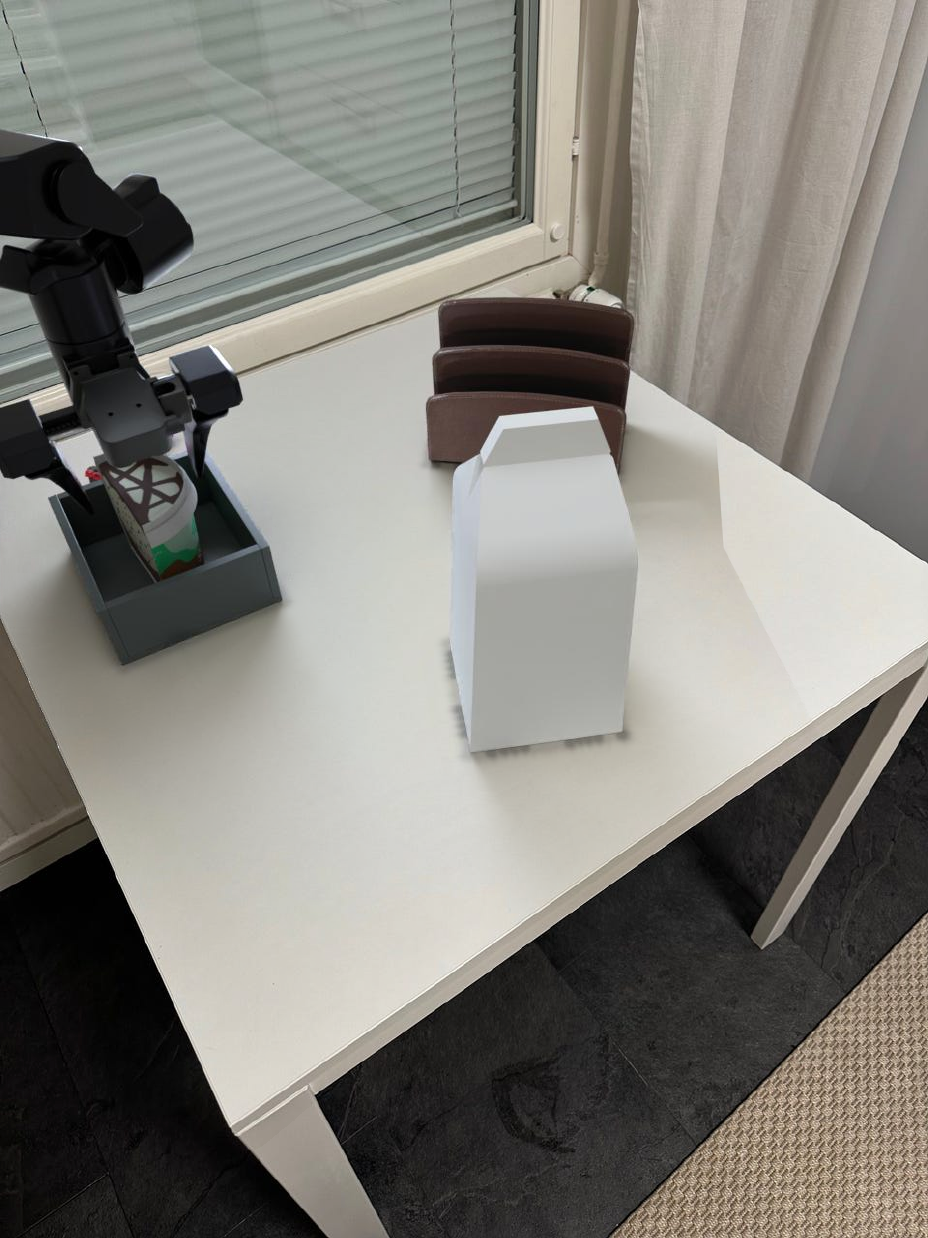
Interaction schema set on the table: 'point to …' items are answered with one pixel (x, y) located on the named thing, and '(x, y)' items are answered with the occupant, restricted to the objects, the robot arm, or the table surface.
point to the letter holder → (525, 368)
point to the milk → (541, 583)
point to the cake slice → (155, 513)
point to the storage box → (183, 602)
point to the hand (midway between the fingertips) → (146, 493)
